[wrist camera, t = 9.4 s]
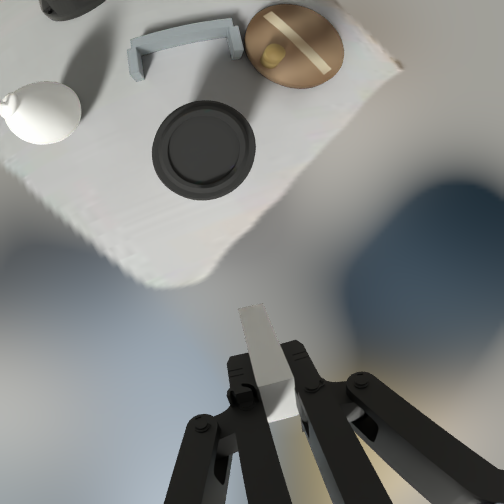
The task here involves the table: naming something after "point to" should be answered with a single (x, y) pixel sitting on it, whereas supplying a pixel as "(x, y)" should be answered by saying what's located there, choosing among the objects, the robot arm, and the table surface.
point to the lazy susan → (293, 46)
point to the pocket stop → (183, 41)
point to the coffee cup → (203, 150)
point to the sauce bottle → (42, 112)
